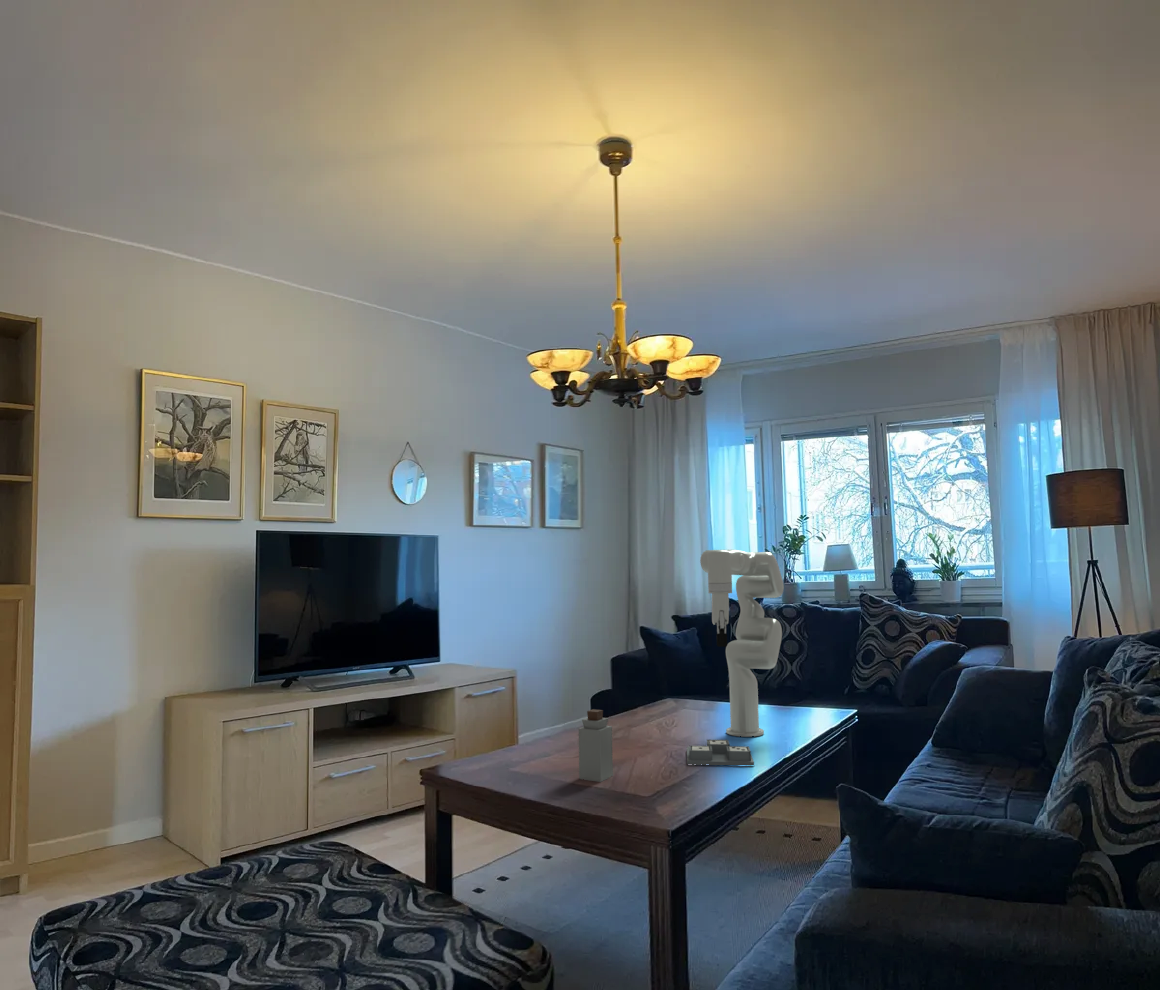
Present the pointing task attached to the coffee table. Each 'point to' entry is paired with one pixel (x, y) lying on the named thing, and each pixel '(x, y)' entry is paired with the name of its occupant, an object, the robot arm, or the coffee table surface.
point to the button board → (719, 755)
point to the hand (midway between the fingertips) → (722, 646)
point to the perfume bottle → (595, 748)
